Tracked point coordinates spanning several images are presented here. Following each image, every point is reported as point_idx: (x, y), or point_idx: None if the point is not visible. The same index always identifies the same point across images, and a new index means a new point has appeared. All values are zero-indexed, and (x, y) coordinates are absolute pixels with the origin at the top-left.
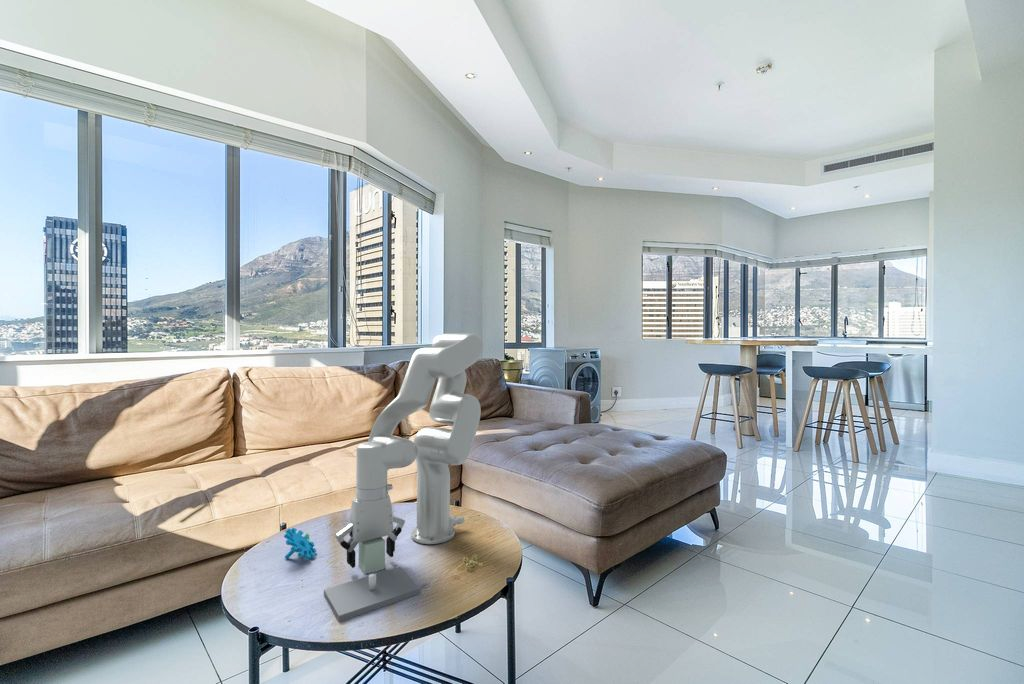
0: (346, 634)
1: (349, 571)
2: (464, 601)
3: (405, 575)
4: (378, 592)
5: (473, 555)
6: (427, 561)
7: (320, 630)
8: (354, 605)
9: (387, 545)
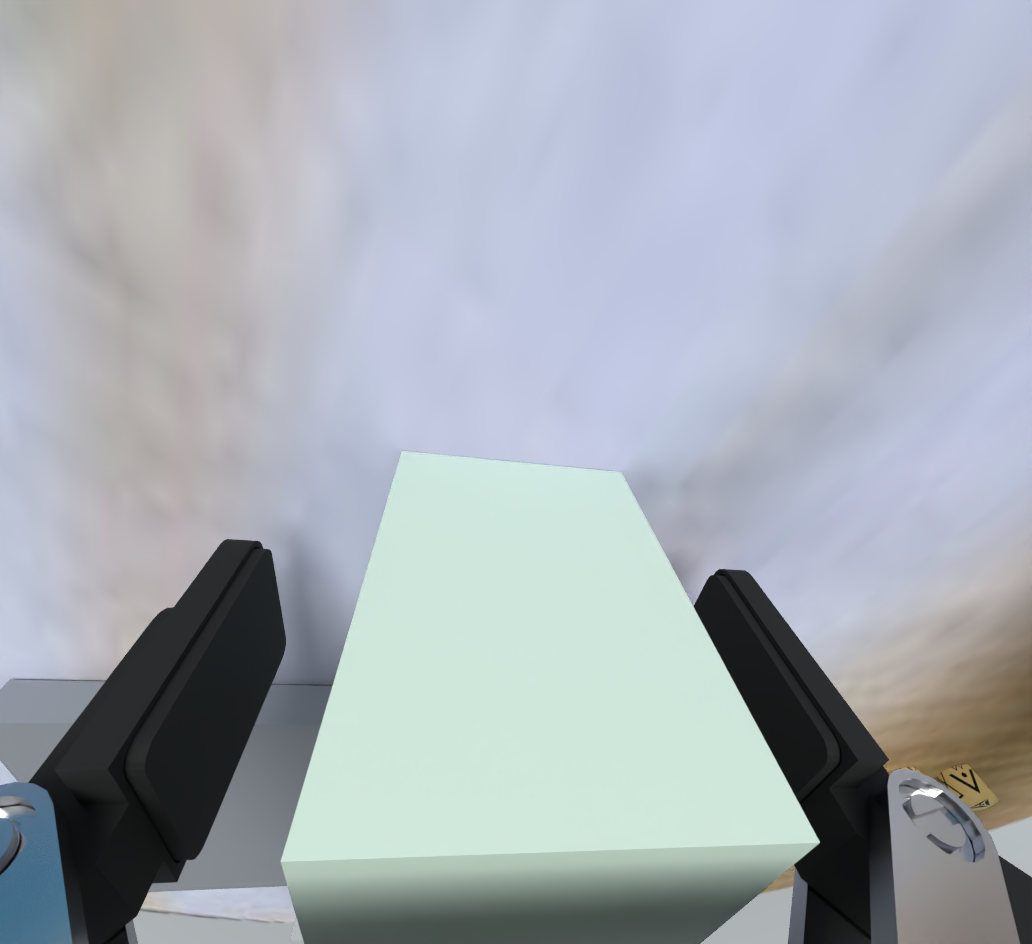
0: (165, 896)
1: (278, 490)
2: None
3: None
4: None
5: (979, 804)
6: (834, 682)
7: None
8: (205, 873)
9: (751, 689)
